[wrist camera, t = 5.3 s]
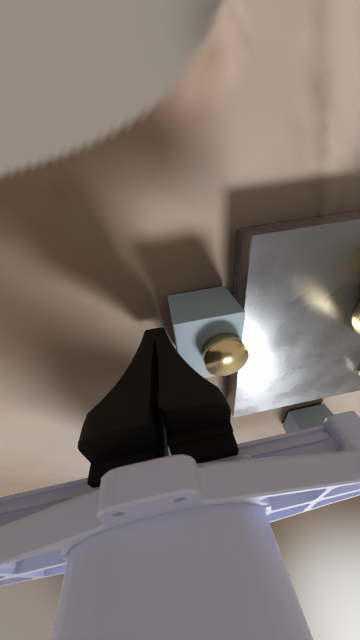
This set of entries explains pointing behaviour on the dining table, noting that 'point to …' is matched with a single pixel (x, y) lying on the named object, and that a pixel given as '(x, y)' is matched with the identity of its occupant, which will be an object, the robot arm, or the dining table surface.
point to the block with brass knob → (209, 331)
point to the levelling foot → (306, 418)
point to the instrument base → (297, 311)
